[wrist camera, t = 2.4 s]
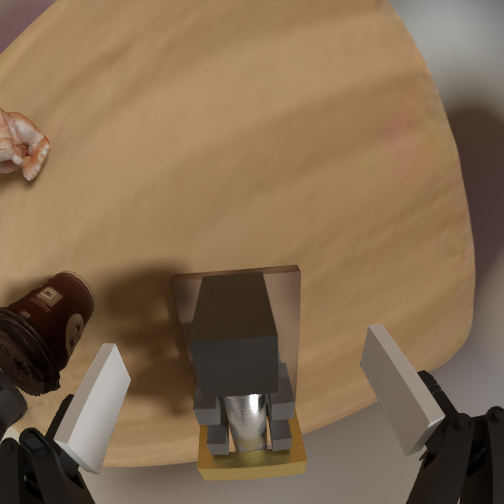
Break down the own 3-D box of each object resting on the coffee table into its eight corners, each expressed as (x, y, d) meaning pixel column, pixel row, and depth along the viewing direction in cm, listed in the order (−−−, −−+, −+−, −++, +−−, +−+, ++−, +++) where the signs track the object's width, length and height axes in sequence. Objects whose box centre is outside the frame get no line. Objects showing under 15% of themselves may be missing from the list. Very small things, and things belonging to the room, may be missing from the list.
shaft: (235, 445, 26) (237, 495, 19) (202, 276, 18) (188, 341, 12) (269, 442, 26) (276, 492, 19) (262, 271, 18) (277, 335, 12)
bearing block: (207, 413, 34) (204, 491, 21) (174, 274, 26) (135, 366, 14) (292, 406, 34) (309, 483, 22) (297, 264, 27) (343, 351, 14)
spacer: (207, 411, 26) (204, 480, 18) (202, 394, 25) (197, 468, 17) (289, 404, 27) (304, 472, 18) (290, 388, 26) (307, 460, 17)
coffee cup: (117, 298, 27) (64, 382, 14) (89, 338, 28) (44, 414, 16) (60, 246, 24) (-17, 304, 12) (39, 293, 26) (-21, 354, 14)
